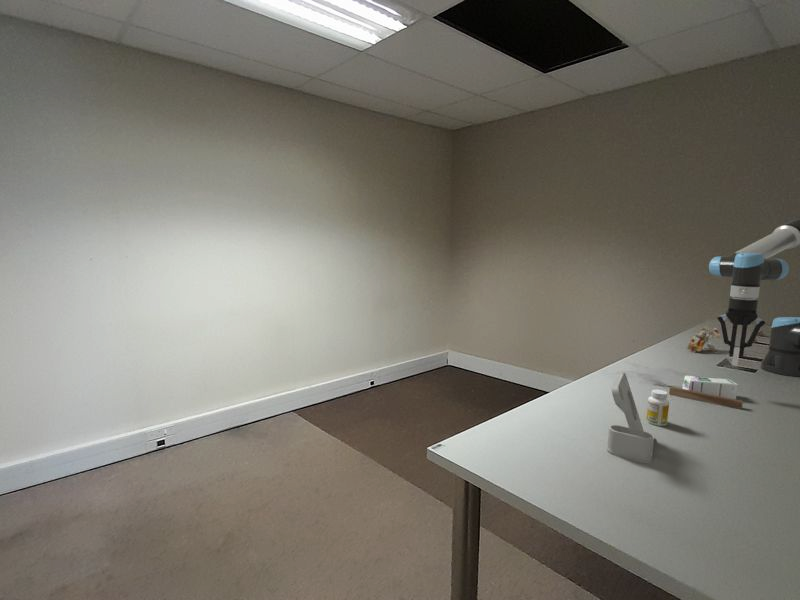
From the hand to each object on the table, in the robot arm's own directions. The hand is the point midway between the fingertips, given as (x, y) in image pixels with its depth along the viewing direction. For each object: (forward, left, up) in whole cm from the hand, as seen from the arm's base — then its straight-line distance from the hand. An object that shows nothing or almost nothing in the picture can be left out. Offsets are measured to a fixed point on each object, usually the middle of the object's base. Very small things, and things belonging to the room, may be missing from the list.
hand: (734, 364), depth 143 cm
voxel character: (-65, -11, -12) cm, 67 cm away
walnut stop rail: (+12, -7, -11) cm, 18 cm away
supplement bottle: (+42, -17, -12) cm, 47 cm away
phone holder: (+62, -20, -12) cm, 67 cm away
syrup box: (+1, +1, -9) cm, 9 cm away
